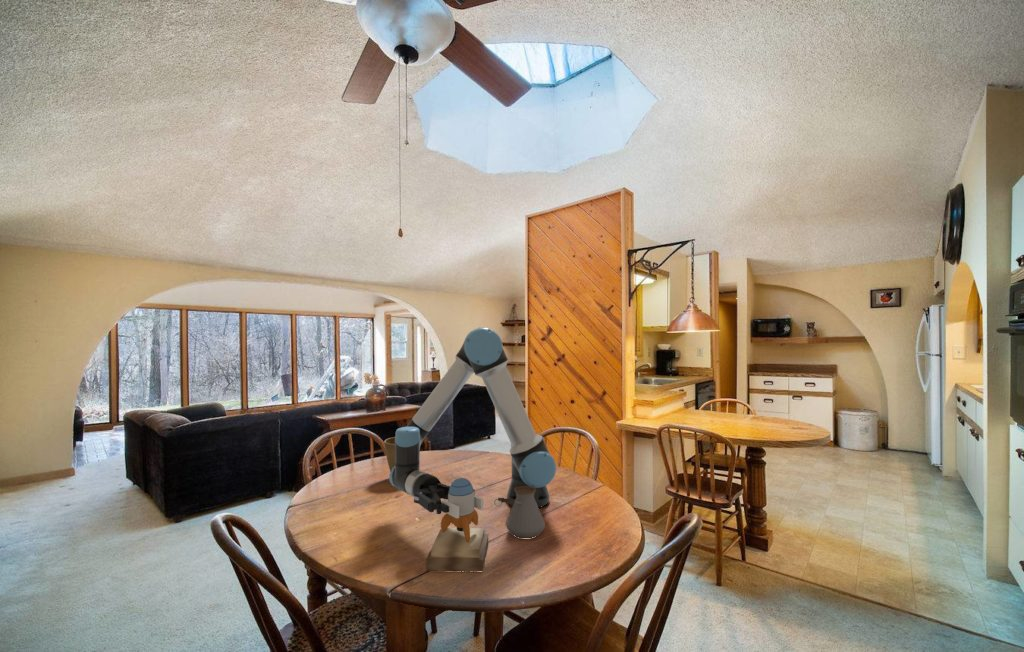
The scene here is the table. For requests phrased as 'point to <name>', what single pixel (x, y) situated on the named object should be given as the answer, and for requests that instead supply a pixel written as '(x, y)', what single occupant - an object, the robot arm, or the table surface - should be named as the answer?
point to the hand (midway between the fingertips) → (470, 508)
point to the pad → (458, 561)
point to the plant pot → (390, 452)
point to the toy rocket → (461, 507)
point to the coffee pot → (524, 514)
